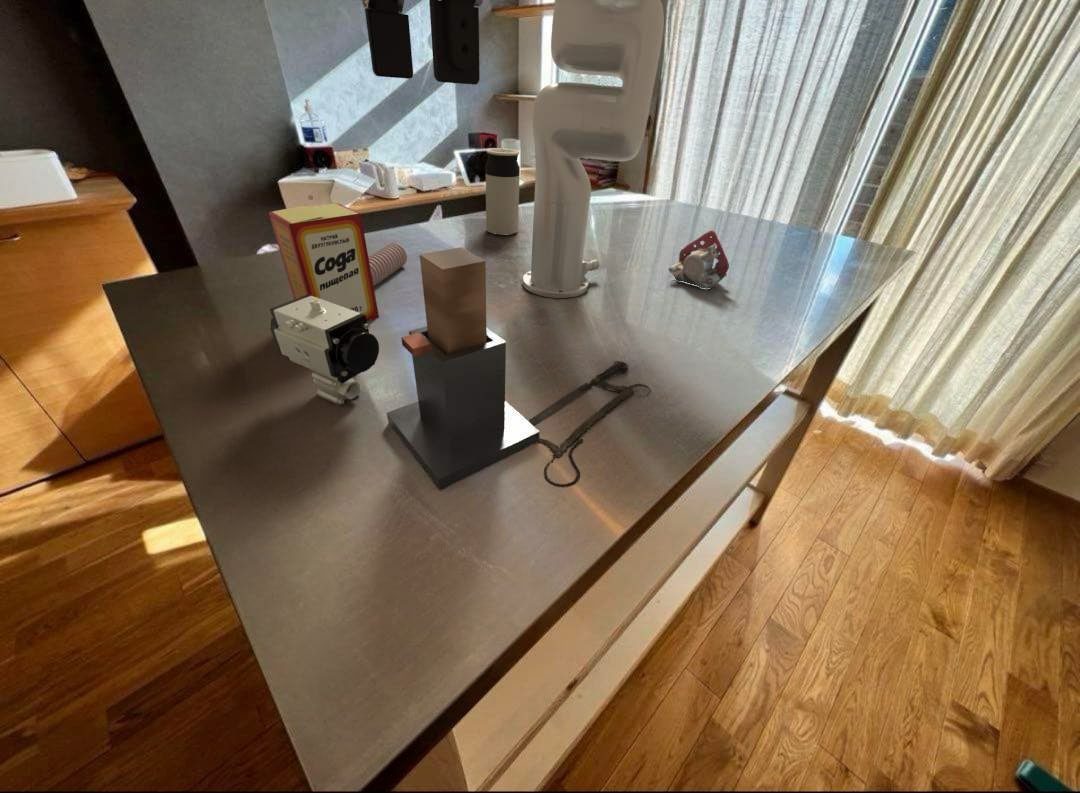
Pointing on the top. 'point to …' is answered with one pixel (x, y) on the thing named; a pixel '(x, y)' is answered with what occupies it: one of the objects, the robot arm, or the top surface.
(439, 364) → the sleeve
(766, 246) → the top surface
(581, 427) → the hacksaw
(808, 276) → the top surface
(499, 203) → the travel mug
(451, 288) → the column
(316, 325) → the pneumatic valve
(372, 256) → the coil
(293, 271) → the baking soda box
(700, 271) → the brake caliper
